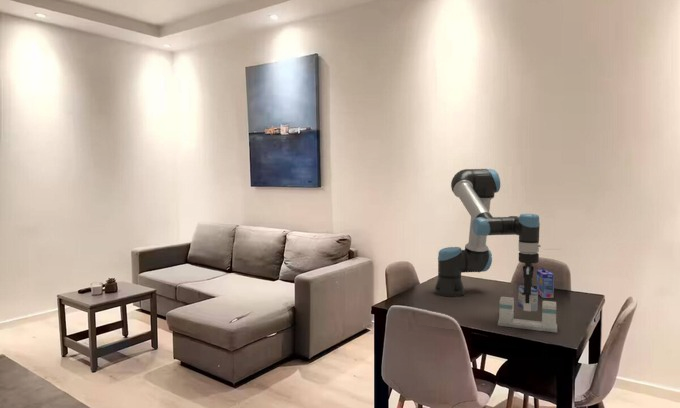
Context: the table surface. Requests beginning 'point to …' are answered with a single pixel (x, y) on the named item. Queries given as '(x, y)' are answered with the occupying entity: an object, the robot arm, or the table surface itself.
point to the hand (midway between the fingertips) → (527, 307)
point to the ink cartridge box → (545, 283)
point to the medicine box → (533, 298)
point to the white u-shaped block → (508, 320)
